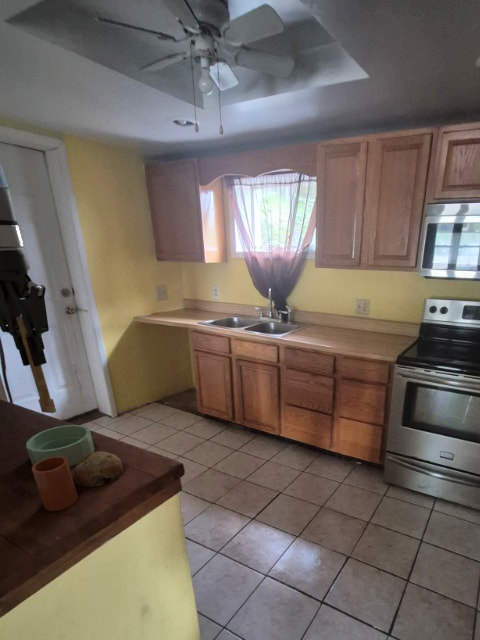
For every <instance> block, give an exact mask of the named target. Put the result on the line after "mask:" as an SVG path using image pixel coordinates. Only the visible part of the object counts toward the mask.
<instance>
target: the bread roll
mask: <svg viewBox="0 0 480 640" xmlns="http://www.w3.org/2000/svg"><path fill="white" fill-rule="evenodd" d="M123 472H124V467H123V462H122V461H121V459H120V458H119V457H118V456H117V455H116V454H114V453H110V452H107V451H93V453H90V454H88V455H86V456H85V457H84V458H83V459H82V460H81V462H80V463H78V464H76V465H75V468H74V470H73V477H74V478H73V479H74V481H75V482H74V483H75V484H76V485H78V486H82V487H86V488H87V487H88V488H91V487H92V488H93V487H98V486H102V485H104V484H106V483H109V482H112V481H114V480H116V479H118V478H119V477H120V476H121V475H122V474H123Z"/></svg>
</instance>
